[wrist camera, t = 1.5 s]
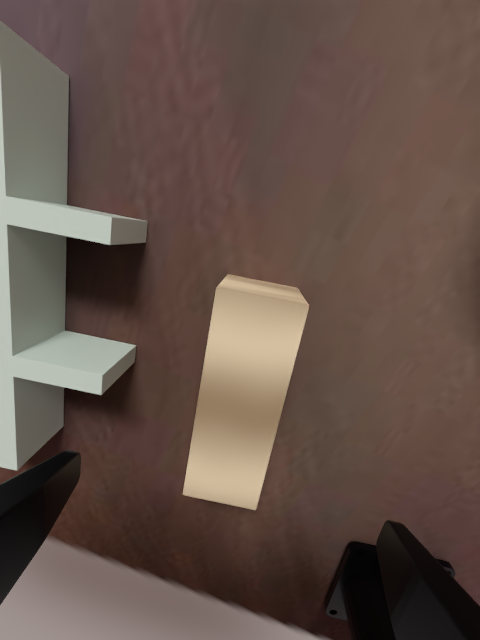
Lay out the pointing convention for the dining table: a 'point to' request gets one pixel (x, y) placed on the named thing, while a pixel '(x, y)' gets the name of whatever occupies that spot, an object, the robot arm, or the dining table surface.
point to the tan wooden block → (243, 388)
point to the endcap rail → (43, 258)
